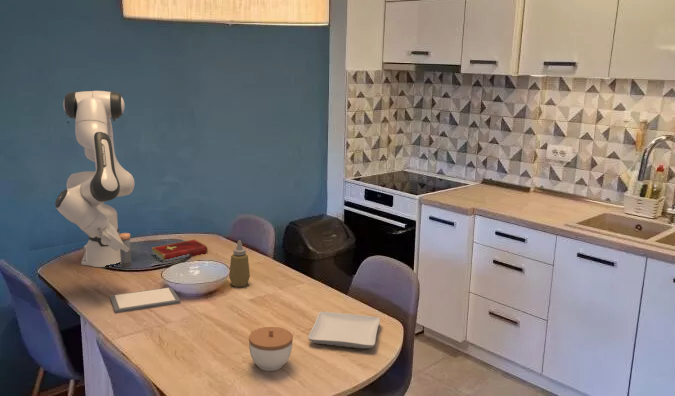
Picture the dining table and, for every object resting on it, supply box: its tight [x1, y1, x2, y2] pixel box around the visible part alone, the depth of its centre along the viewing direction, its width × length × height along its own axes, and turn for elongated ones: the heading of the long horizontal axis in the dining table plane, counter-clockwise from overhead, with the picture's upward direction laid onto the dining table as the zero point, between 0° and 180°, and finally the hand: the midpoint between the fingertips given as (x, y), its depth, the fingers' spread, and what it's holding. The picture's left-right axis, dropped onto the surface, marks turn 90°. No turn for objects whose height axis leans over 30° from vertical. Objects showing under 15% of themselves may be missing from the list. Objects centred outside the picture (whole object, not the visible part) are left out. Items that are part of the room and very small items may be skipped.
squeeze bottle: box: [228, 240, 251, 288], centre depth 229 cm, size 8×8×18 cm
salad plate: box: [307, 311, 381, 349], centre depth 192 cm, size 21×21×3 cm
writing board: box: [109, 286, 181, 314], centre depth 213 cm, size 14×22×1 cm, turn 117°
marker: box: [119, 232, 132, 268], centre depth 217 cm, size 4×4×12 cm
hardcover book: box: [151, 239, 209, 260], centre depth 262 cm, size 12×21×4 cm, turn 131°
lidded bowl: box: [248, 326, 294, 372], centre depth 171 cm, size 13×13×11 cm
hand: (127, 248), depth 217 cm, fingers closed on marker, 4 cm apart
